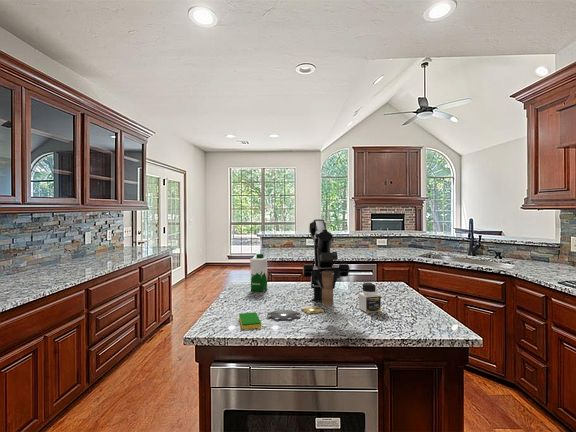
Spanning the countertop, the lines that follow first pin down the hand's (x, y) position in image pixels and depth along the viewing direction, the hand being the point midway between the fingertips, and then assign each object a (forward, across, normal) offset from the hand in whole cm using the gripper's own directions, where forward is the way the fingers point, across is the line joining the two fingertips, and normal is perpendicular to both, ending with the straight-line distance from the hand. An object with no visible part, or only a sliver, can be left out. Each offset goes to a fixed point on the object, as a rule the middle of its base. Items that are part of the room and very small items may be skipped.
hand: (327, 288), depth 132 cm
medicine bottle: (-1, +21, +21) cm, 29 cm away
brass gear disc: (-1, -5, +20) cm, 21 cm away
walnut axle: (+4, 0, +6) cm, 7 cm away
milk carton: (-29, -31, +50) cm, 66 cm away
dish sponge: (+9, -31, +11) cm, 34 cm away
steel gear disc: (+3, -18, +16) cm, 24 cm away
